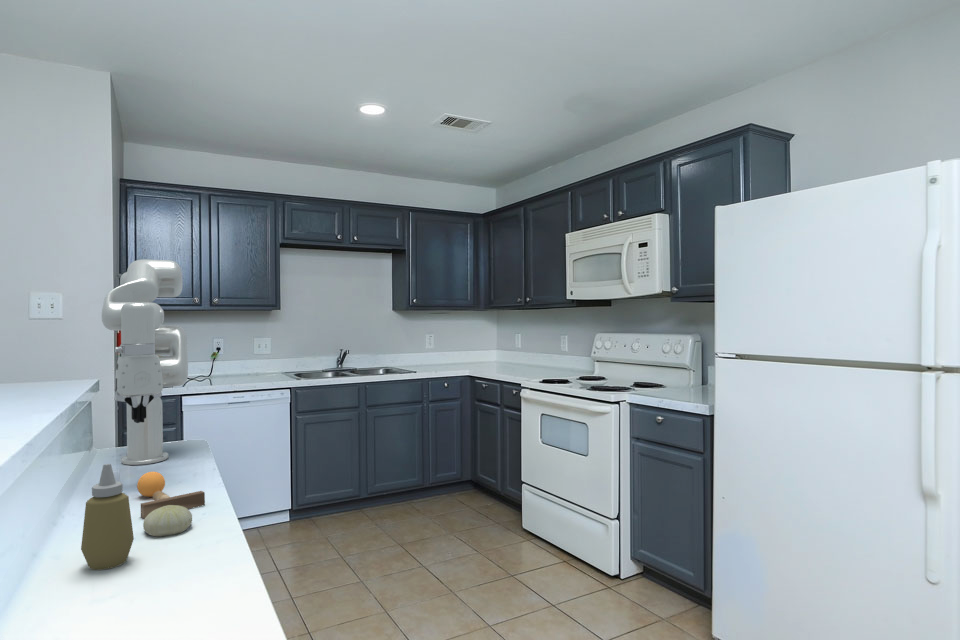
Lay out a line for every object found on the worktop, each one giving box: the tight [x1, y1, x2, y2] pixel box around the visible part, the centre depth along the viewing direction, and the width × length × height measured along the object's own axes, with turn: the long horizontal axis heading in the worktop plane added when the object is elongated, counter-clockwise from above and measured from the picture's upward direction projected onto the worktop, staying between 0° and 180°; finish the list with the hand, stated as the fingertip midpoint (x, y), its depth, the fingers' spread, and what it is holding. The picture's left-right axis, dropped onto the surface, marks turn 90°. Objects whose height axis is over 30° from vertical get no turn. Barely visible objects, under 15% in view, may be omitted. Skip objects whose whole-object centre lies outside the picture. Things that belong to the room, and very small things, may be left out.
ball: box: [136, 471, 166, 498], centre depth 146 cm, size 6×6×6 cm
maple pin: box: [152, 490, 170, 501], centre depth 140 cm, size 2×2×8 cm
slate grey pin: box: [112, 469, 121, 482], centre depth 137 cm, size 2×2×8 cm
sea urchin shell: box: [142, 505, 193, 538], centre depth 123 cm, size 9×8×8 cm
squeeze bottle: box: [80, 463, 135, 571], centre depth 107 cm, size 8×8×18 cm
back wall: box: [140, 490, 206, 520], centre depth 135 cm, size 2×13×3 cm, turn 135°
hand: (139, 421), depth 152 cm, fingers closed
